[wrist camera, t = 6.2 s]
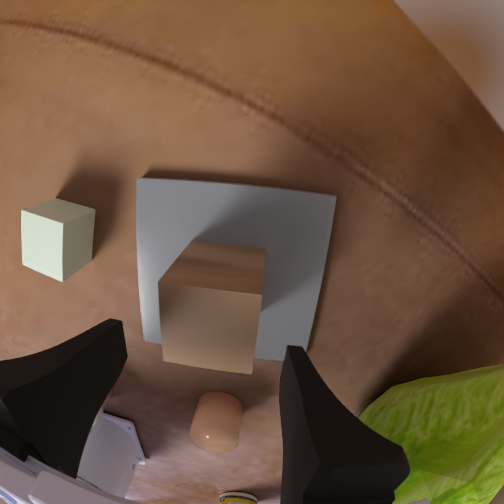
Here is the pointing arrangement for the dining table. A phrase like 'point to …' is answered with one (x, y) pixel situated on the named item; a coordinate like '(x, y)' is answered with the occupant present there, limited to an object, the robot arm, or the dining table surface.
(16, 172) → the dining table surface
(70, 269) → the pale green block
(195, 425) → the peach rounded cylinder
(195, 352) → the walnut block
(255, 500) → the supplement bottle
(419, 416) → the lettuce
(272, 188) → the slate coaster
